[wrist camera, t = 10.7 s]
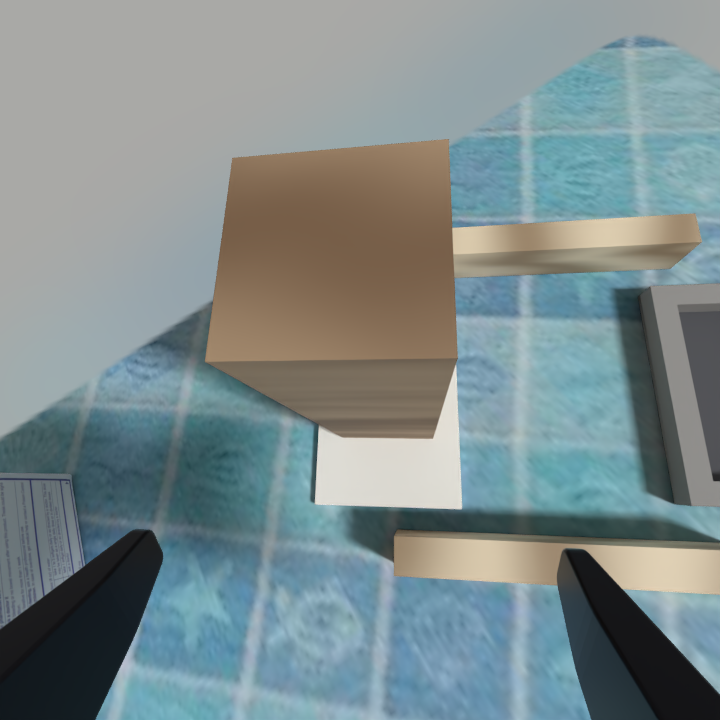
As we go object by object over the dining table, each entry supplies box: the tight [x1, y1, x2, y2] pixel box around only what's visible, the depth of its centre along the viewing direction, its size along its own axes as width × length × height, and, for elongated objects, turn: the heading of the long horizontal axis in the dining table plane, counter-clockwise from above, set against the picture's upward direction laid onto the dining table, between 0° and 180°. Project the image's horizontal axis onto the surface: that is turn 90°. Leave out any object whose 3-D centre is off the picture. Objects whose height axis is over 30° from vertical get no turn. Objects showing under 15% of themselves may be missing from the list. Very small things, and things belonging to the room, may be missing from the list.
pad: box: [315, 365, 462, 509], centre depth 21 cm, size 7×11×1 cm, turn 179°
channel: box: [394, 214, 720, 595], centre depth 19 cm, size 14×16×2 cm
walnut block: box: [205, 139, 458, 439], centre depth 14 cm, size 4×4×14 cm
